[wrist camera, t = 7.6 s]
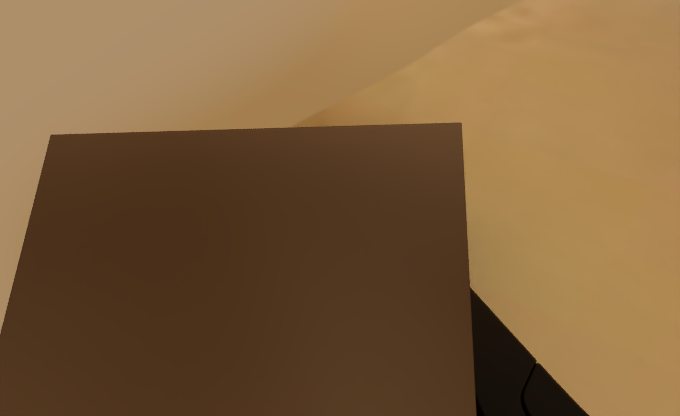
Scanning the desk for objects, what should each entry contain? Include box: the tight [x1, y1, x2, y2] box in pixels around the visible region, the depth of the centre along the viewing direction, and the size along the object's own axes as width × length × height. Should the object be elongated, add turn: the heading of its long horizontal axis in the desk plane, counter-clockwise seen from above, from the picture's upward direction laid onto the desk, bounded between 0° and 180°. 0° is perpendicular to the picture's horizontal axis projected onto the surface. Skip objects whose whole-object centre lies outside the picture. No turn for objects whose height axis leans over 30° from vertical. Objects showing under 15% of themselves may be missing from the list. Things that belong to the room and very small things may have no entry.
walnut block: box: [0, 123, 476, 416], centre depth 9 cm, size 4×4×12 cm
